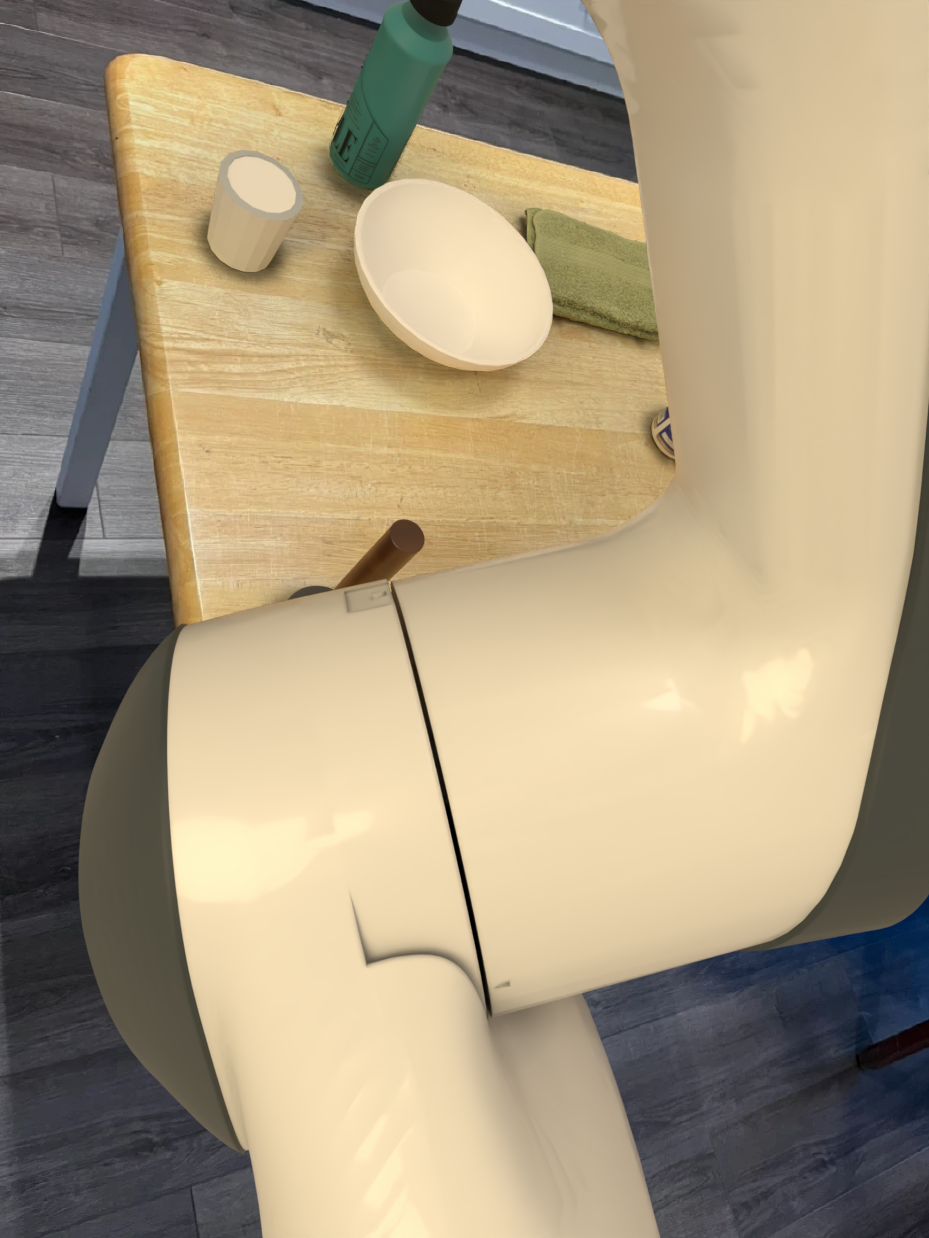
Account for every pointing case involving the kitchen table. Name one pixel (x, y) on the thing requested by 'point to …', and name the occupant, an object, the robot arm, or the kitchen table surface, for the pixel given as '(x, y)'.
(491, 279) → the bowl
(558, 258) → the washcloth
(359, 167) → the beverage bottle
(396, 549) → the paper towel holder
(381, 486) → the kitchen table surface
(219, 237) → the shot glass
